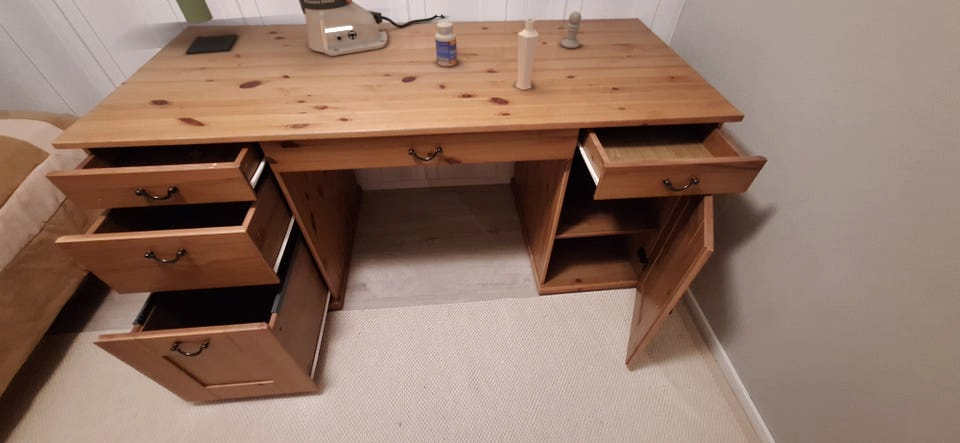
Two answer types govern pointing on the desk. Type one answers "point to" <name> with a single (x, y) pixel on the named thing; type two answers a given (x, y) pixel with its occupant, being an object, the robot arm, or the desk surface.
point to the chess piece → (572, 31)
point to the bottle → (195, 11)
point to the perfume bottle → (526, 54)
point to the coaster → (212, 44)
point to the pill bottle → (446, 44)
